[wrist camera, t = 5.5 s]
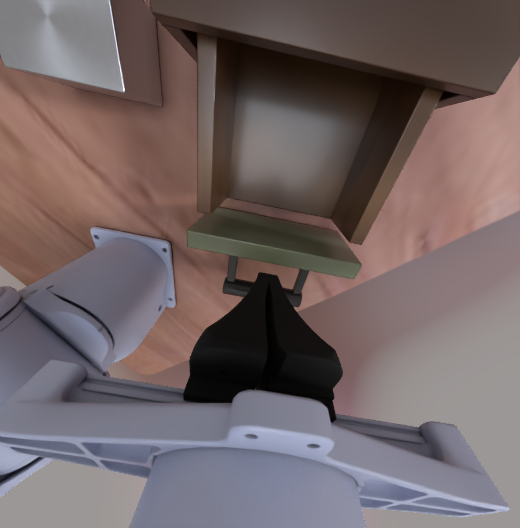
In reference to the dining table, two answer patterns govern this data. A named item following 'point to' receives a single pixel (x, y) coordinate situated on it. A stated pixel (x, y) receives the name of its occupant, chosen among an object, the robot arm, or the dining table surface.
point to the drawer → (296, 155)
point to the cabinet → (369, 36)
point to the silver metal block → (85, 45)
